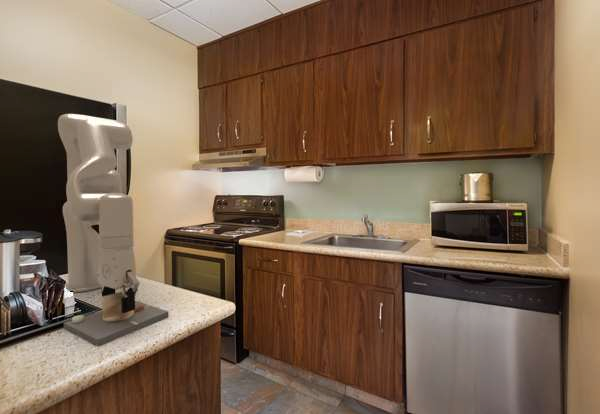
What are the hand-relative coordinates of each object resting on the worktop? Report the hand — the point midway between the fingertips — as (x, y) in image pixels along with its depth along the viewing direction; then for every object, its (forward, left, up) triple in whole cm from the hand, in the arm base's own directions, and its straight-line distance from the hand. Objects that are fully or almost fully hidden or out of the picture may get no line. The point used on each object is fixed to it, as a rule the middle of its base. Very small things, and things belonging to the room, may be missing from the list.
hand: (118, 307), depth 78 cm
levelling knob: (0, +1, -2) cm, 3 cm away
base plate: (0, 0, -4) cm, 4 cm away
